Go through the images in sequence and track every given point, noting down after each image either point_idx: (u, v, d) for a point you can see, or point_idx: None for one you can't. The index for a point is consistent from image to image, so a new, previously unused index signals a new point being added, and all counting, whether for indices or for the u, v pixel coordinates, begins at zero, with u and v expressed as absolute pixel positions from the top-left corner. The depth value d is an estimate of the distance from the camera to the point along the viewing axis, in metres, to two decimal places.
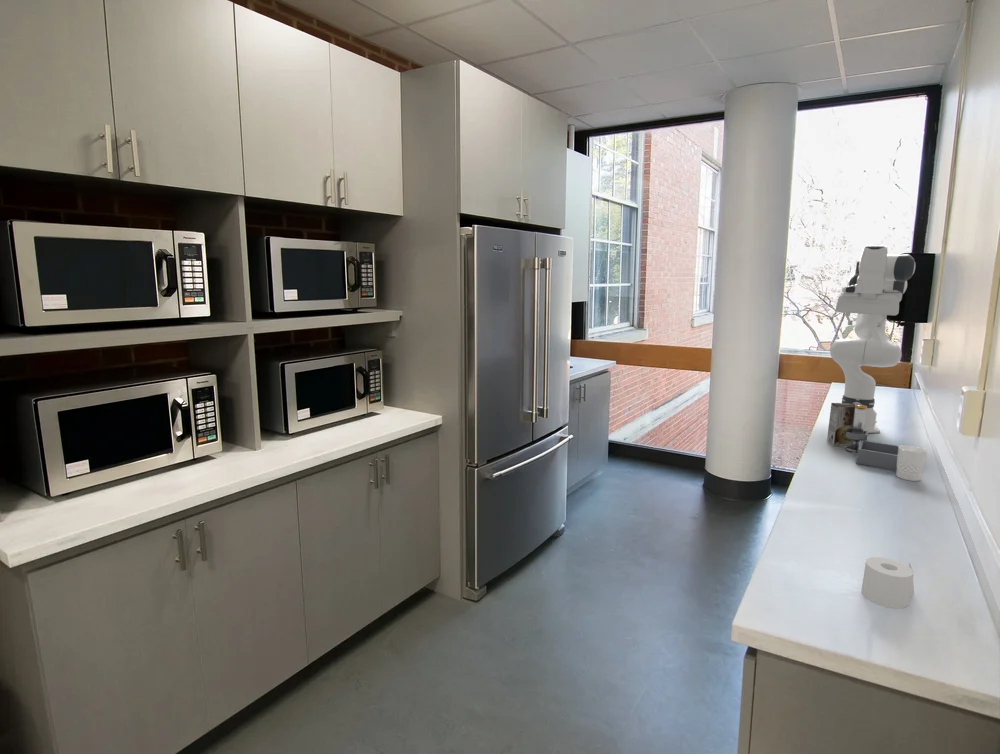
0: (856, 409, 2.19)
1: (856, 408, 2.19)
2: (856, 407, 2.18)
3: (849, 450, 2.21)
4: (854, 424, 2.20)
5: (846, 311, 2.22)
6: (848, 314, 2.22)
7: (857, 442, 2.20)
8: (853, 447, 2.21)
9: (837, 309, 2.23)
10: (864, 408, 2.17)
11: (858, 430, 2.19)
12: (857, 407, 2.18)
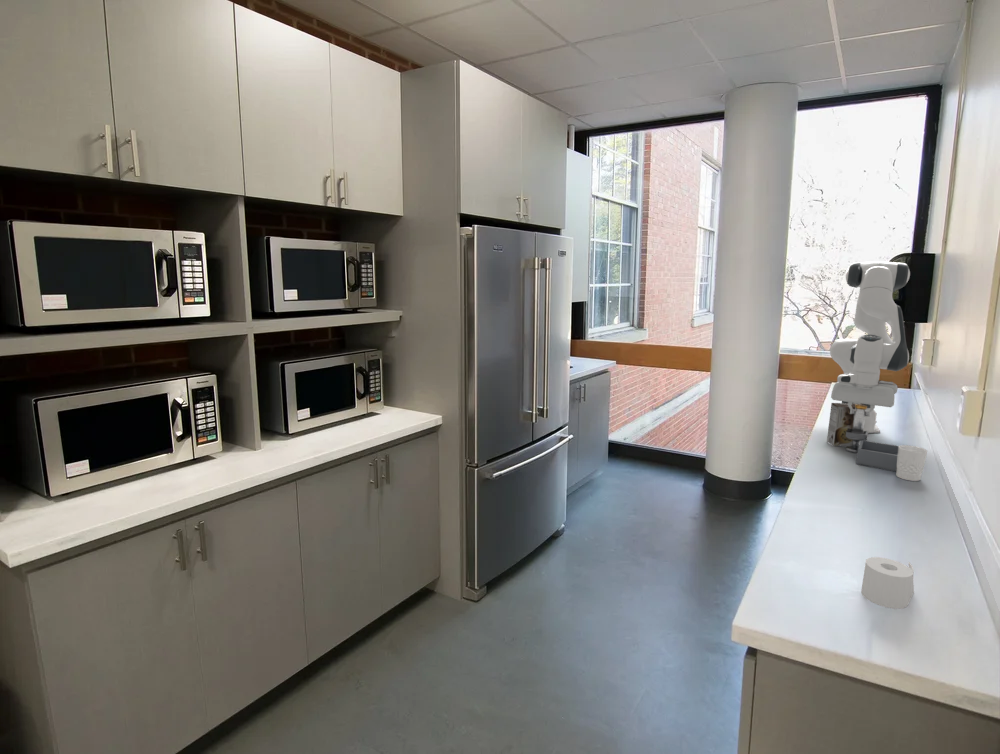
0: (856, 409, 2.19)
1: (856, 408, 2.19)
2: (856, 407, 2.18)
3: (849, 450, 2.21)
4: (854, 424, 2.20)
5: (841, 399, 2.20)
6: (850, 403, 2.20)
7: (857, 442, 2.20)
8: (853, 447, 2.21)
9: (832, 397, 2.22)
10: (864, 408, 2.17)
11: (858, 430, 2.19)
12: (857, 407, 2.18)
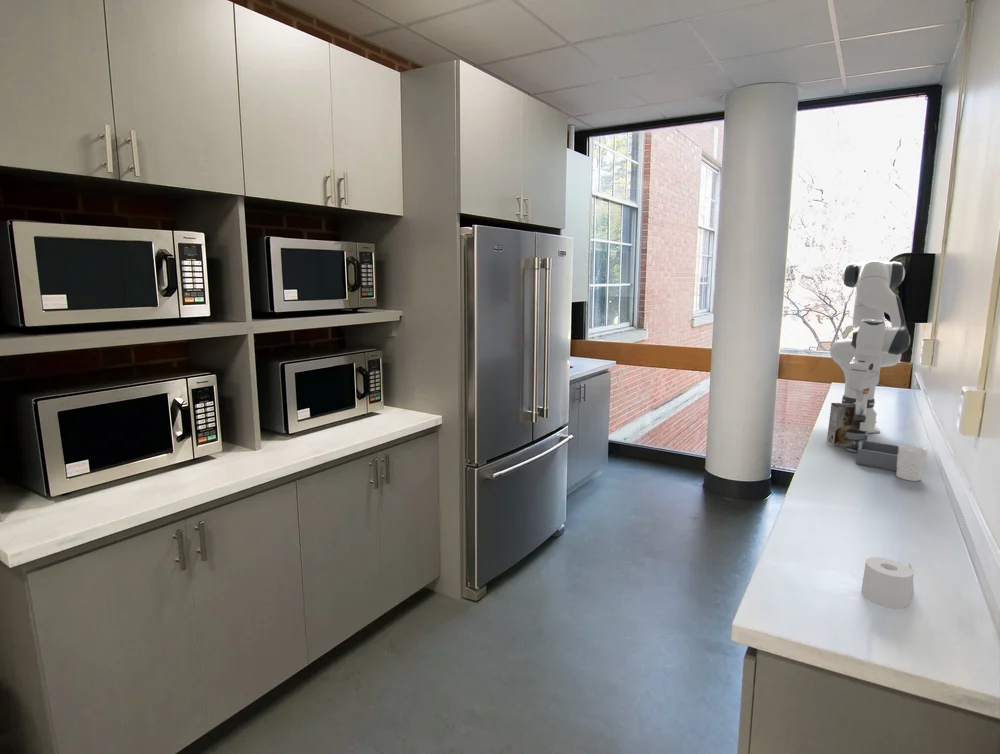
0: (864, 394, 2.16)
1: (865, 393, 2.16)
2: (865, 392, 2.16)
3: (849, 450, 2.21)
4: (863, 410, 2.17)
5: (862, 388, 2.12)
6: (863, 390, 2.15)
7: (857, 442, 2.20)
8: (853, 447, 2.21)
9: (859, 388, 2.10)
10: None
11: (865, 414, 2.18)
12: (866, 392, 2.16)
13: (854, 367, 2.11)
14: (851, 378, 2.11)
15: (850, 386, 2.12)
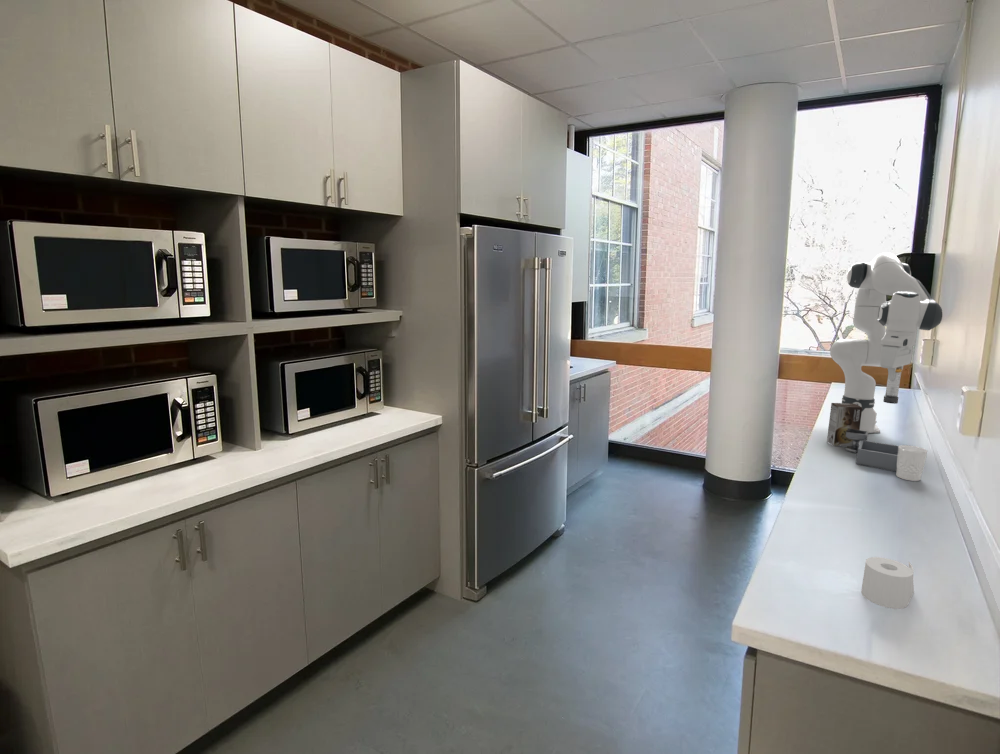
0: (897, 373, 2.00)
1: (897, 372, 2.00)
2: (898, 371, 2.00)
3: (849, 450, 2.21)
4: (895, 390, 2.01)
5: (895, 366, 1.96)
6: (895, 368, 1.99)
7: (857, 442, 2.20)
8: (853, 447, 2.21)
9: (893, 365, 1.94)
10: None
11: (897, 395, 2.02)
12: (899, 371, 2.00)
13: (887, 343, 1.95)
14: (883, 355, 1.95)
15: (882, 363, 1.96)
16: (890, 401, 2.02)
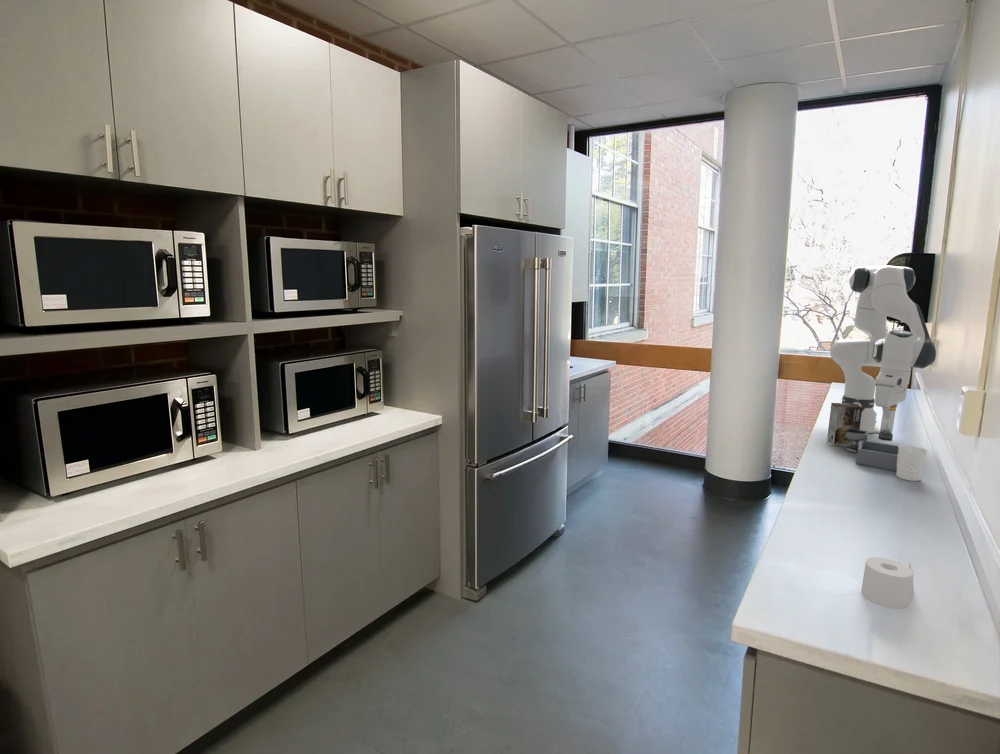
0: (891, 411, 2.03)
1: (892, 410, 2.02)
2: (892, 409, 2.02)
3: (849, 450, 2.21)
4: (889, 427, 2.04)
5: (890, 405, 1.98)
6: (890, 407, 2.01)
7: (857, 442, 2.20)
8: (853, 447, 2.21)
9: (887, 404, 1.96)
10: None
11: None
12: (893, 409, 2.02)
13: (881, 382, 1.98)
14: (878, 394, 1.98)
15: (877, 402, 1.98)
16: (885, 438, 2.04)
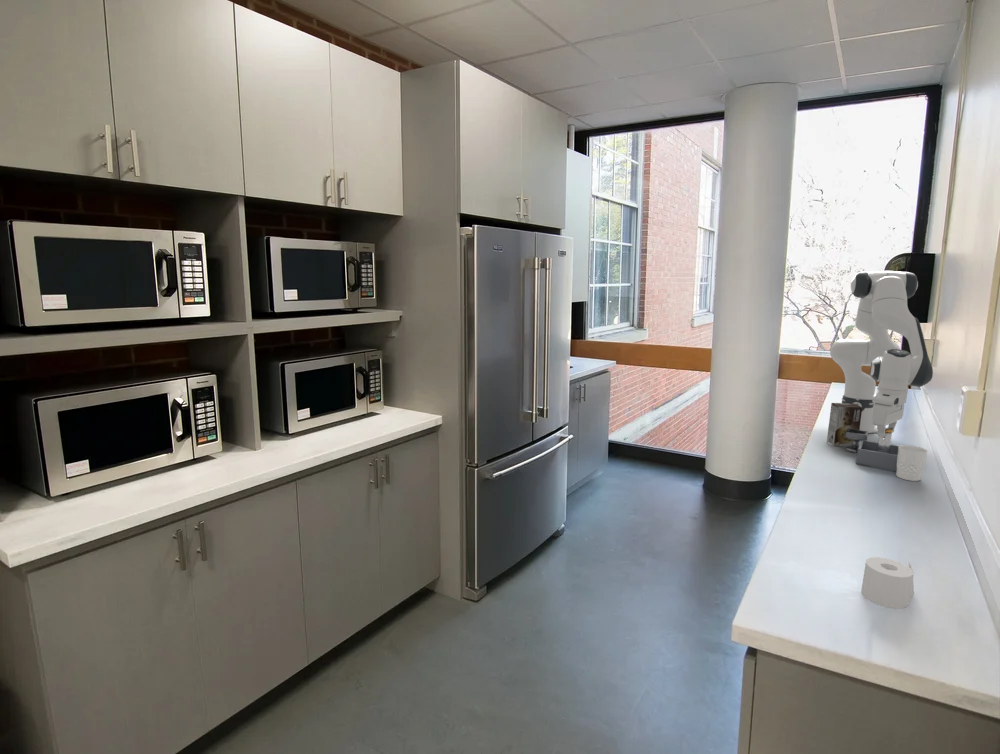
0: (887, 434, 2.04)
1: (888, 433, 2.04)
2: (888, 432, 2.04)
3: (849, 450, 2.21)
4: (886, 450, 2.05)
5: (887, 424, 2.00)
6: (885, 426, 2.01)
7: (857, 442, 2.20)
8: (853, 447, 2.21)
9: (884, 424, 1.98)
10: None
11: None
12: (890, 432, 2.04)
13: (878, 401, 1.99)
14: (875, 413, 1.99)
15: (874, 421, 1.99)
16: None
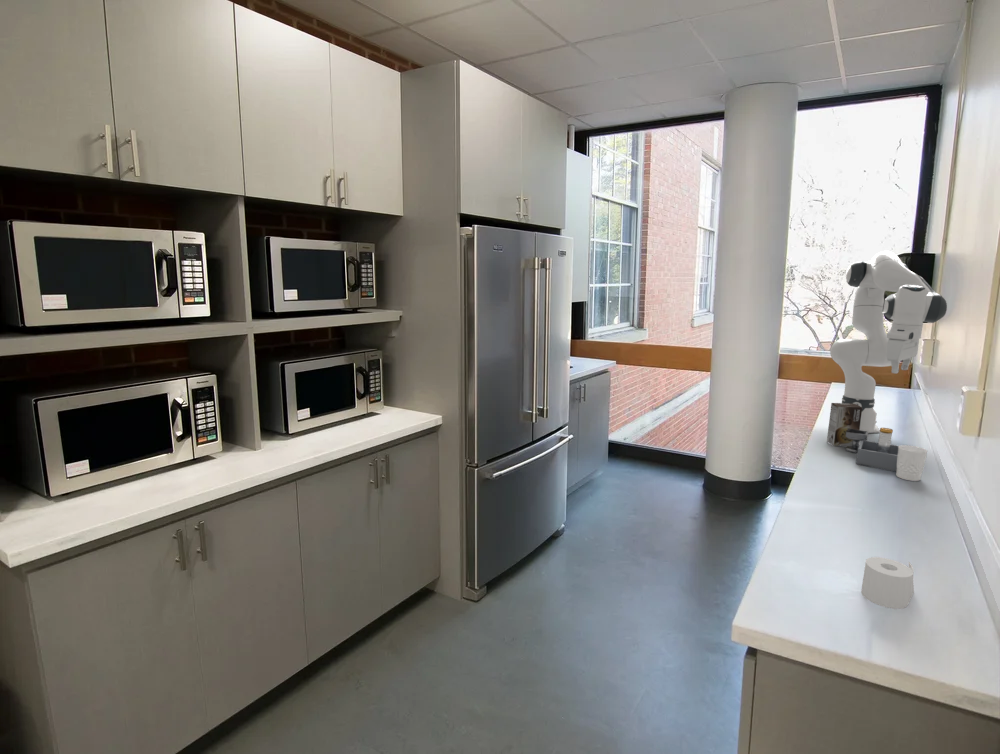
0: (888, 434, 2.04)
1: (888, 433, 2.04)
2: (888, 432, 2.04)
3: (849, 450, 2.21)
4: (886, 450, 2.05)
5: (901, 359, 1.99)
6: (899, 362, 2.00)
7: (857, 442, 2.20)
8: (853, 447, 2.21)
9: (899, 359, 1.97)
10: None
11: None
12: (890, 432, 2.04)
13: (893, 336, 1.98)
14: (889, 348, 1.98)
15: (888, 357, 1.98)
16: None
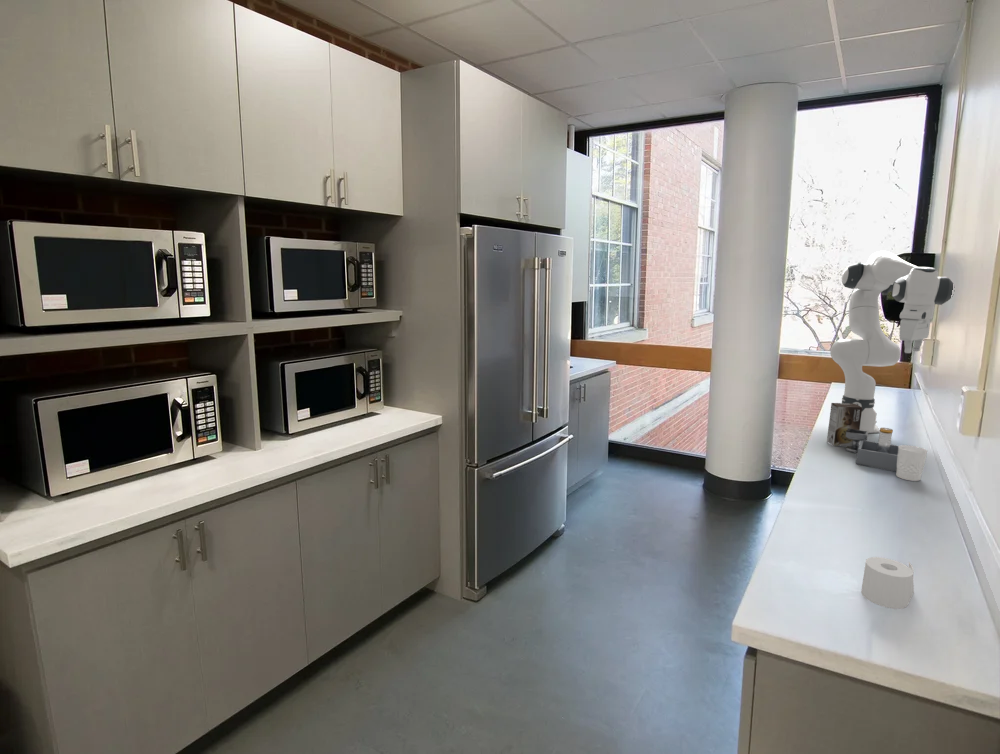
0: (888, 434, 2.04)
1: (888, 433, 2.04)
2: (888, 432, 2.04)
3: (849, 450, 2.21)
4: (886, 450, 2.05)
5: (914, 339, 2.03)
6: (912, 342, 2.04)
7: (857, 442, 2.20)
8: (853, 447, 2.21)
9: (912, 338, 2.01)
10: None
11: None
12: (890, 432, 2.04)
13: (906, 316, 2.02)
14: (902, 328, 2.02)
15: (901, 336, 2.02)
16: None
